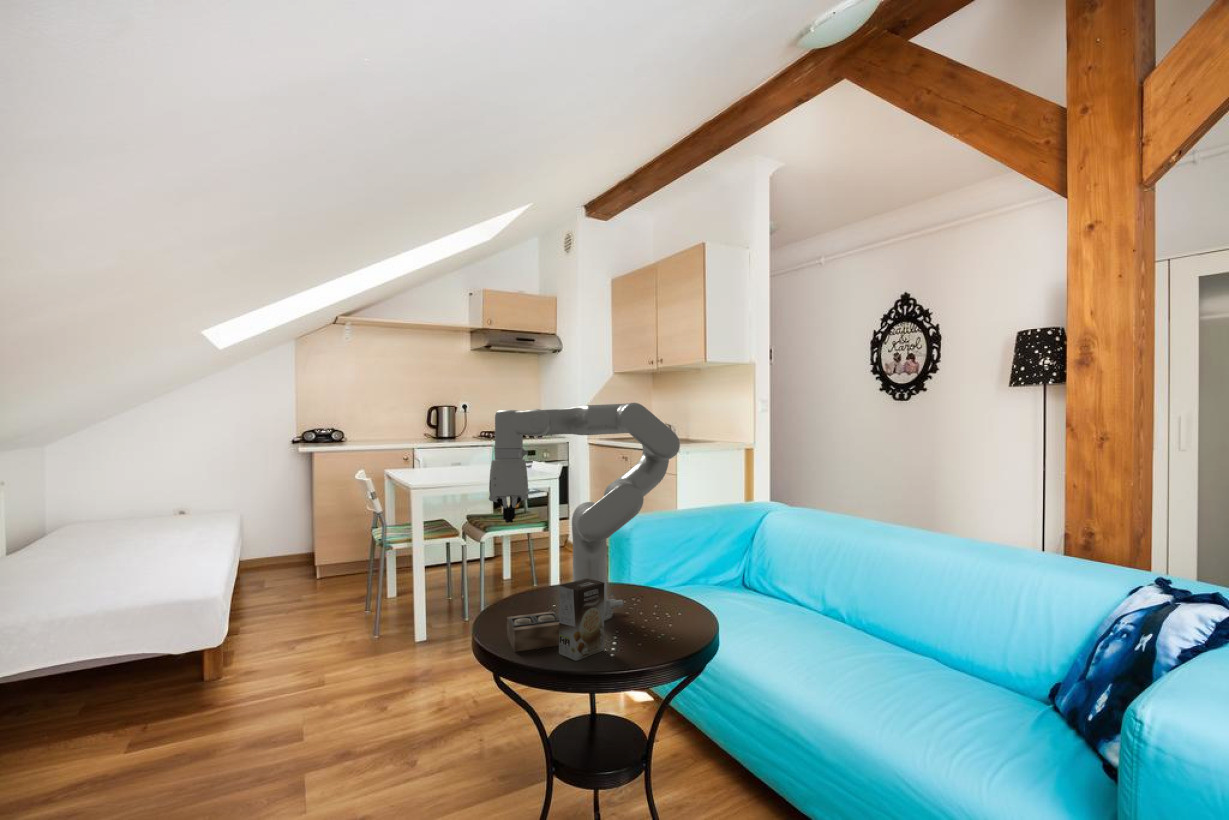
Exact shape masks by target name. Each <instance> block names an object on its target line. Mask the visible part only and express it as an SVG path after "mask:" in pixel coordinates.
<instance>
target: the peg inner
mask: <svg viewBox="0 0 1229 820" xmlns="http://www.w3.org/2000/svg"><path fill="white" fill-rule="evenodd" d="M538 620H539V622H542V621H550V620H555V617H554V616H552V615H543V616H540V617H539V618H538Z"/></svg>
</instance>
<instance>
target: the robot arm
mask: <svg viewBox="0 0 1229 820" xmlns="http://www.w3.org/2000/svg"><path fill="white" fill-rule="evenodd" d="M616 434H617V435H620V434H629V435H631V437H633V439H635V440H636V441H637V442H638V443H640V444H641V446H642V454H641V457H640V459H639V461H638V462H636V463H635V464H634V465H633V466H632V467H631V468H630V469H629V470H628V471H626V472H625V473H623V474H622V475H620V476H619V477H618V478H616V479H615V480H613V482H611V483H610V484H609V485H607V486H606V488H605V490H604V491H603V492H604V493H603V497H601V498H600V499H599V500H597V501H596V502H593V501H586V502H583V503H581V504H579V505H578V506H577V507H576V508H575V510H574V511H573V513H572V518H571V534H572V582H574V581H578V580H583V579H591V580H597V581H600V582H603V583H604V622H605V621H608V620H610V619H611V618H612V617H613V609H614V608H621V607H624V605H625V604H624V600H623V599H616V598H611V599H610V598H608V587H607V586H608V582H607V581H608V576H607V575H608V572H607V570H608V569H607V567H608V563H607V562H608V556H607V555H608V546H607V545H608V544H607V539H608V538H610V537H611V536H613V534H615V533H616V532H617V531H619V530H620V529H622V528H623V527H624V526H625V525H626V524H627V523H629V522H630V521H631V520H633V519H634V518H635V517H636V516H637V515H638V514H639V512H640V511H641V510H642V508H643V506H644V500H645V499H644V497H645V496H646V495H648V494H649V493H650V492H651V491H652V490H654V488H656V487H657V486H658V485H659V484H660V483H661V482H662V481H663V479H664V478H665V476H666V474H667V471H668V468H669V462H670V459H673V458H675V456H676V455H678V453H679V451H680V447H681V444H680V443H681V442H680V439H679V436H678V435H677V434H676V432H674V431H673V429H671V428H670V427H669V426H668V425H666V424H665V423H664V422H663V421H662V420H661V419H659V418H658V417H657V416H656V415H655V414H653V413H652V412H651V411H650V410H649V409H648V408H646V407H645V406H644V405H643V404H640V403H638V402H629V403H628V402H626V403H613V404H612V403H609V404H606V403H605V404H587V405H586V404H585V405H578V406H574V407H570V408H569V407H568V408H567V407H566V408H558V409H557V408H556V409H540V408H534V409H528V410H517V409H501V410H500V409H499V410H498V411H496V412H495V415H494V459H492V460H491V463H490V469H489V480H488V481H489V483H488V484H489V485H488V488H489V490H488V491H489V497H488V501H491V502H494V503H497V504H499V506H501V507H502V520H504V522H505V523H506V524H509V523H514V519H515V517H516V515H515V514H516V512H515V511H516V507H517V506H518V504H520V502H522V501H526V500H528V499H529V479H528V469H527V463H526V459H524V457H525V456H528V455H529V451H528V450H525V449H524V447H523V446H524V443H523V442H524V441H523V439H524V437H523V436H530V437H542V436H554V435H556V436H557V435H576V436H596V435H616ZM508 497H510V503H509V504H508V500H507V498H508Z"/></svg>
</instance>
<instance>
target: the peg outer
mask: <svg viewBox="0 0 1229 820" xmlns="http://www.w3.org/2000/svg"><path fill="white" fill-rule="evenodd" d="M527 623H531V620H530V619H528V618H520V619H517V620H515V625H519V624H527Z"/></svg>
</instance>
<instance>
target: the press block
mask: <svg viewBox="0 0 1229 820" xmlns="http://www.w3.org/2000/svg"><path fill="white" fill-rule="evenodd" d="M543 615H552V616H554V617H555V620H550V621H542V622H539V620H538V618H539V617H540V616H543ZM520 618H528V619H530V620H531V623H527V624H519V625H515V620H517V619H520ZM506 638H507V640H508V642H509V645H510V646H511V648H512V650H513V652H514V653H515V652H522V651H529V650H536V649H543V648H548V647H549V648H550V647H556V646H559V615H557V613H556V612H554V611H553V610H552V611H544V612H536V613H530V614H529V613H528V614H521V615H515V616H514V615H513V616H507V617H506Z"/></svg>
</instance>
